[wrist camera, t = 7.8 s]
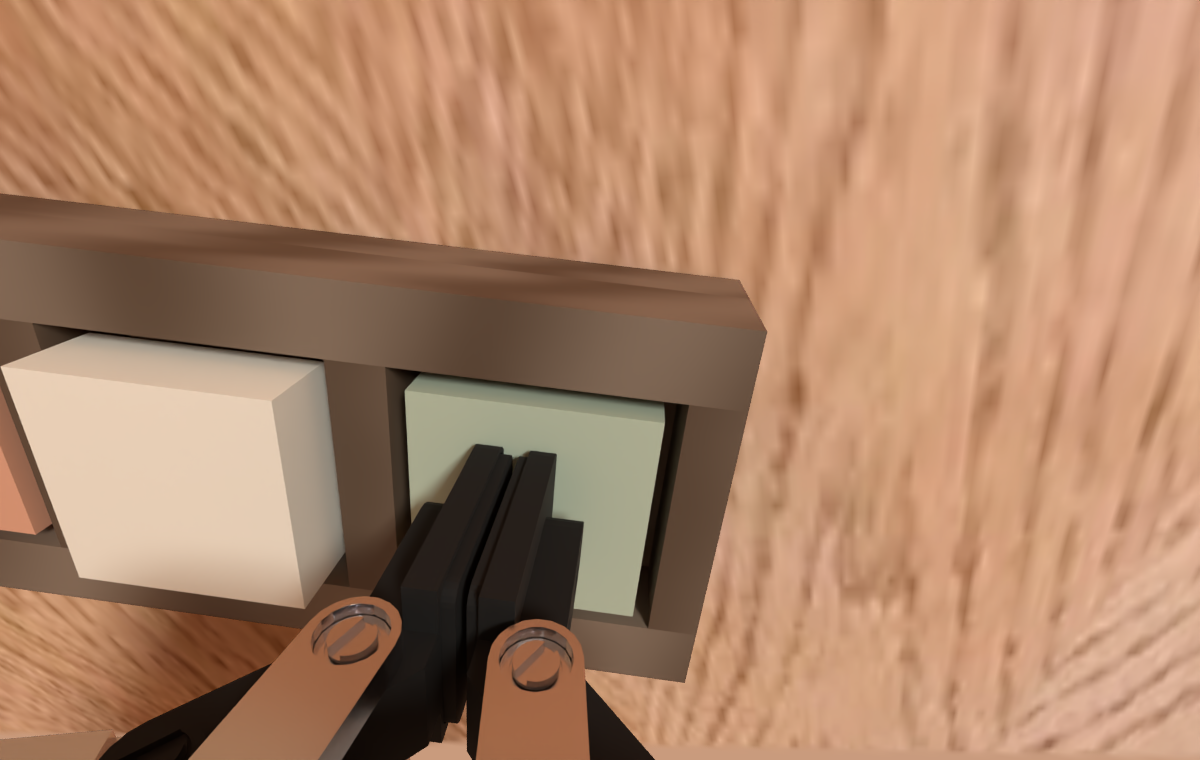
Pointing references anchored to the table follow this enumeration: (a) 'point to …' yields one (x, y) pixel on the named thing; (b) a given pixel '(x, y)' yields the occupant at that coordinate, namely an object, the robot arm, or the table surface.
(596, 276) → the keypad
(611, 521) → the sage key
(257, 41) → the table surface
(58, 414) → the cream key
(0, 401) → the terracotta key
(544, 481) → the robot arm
